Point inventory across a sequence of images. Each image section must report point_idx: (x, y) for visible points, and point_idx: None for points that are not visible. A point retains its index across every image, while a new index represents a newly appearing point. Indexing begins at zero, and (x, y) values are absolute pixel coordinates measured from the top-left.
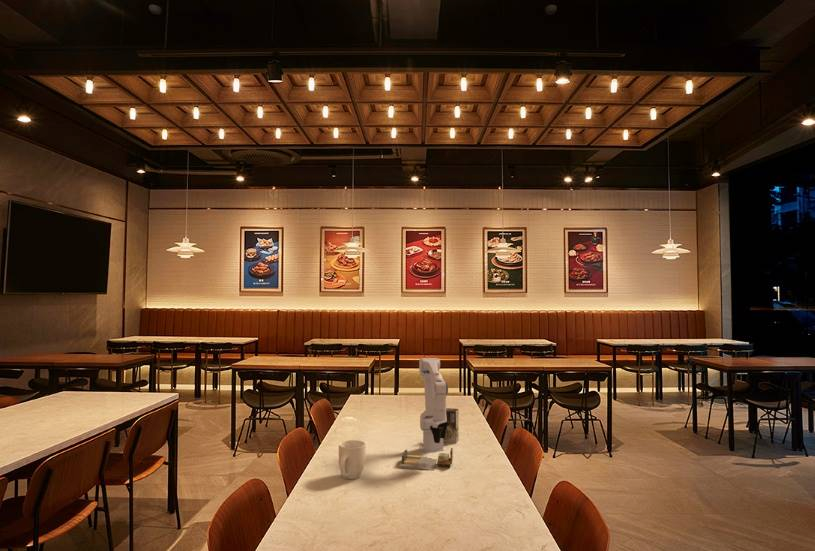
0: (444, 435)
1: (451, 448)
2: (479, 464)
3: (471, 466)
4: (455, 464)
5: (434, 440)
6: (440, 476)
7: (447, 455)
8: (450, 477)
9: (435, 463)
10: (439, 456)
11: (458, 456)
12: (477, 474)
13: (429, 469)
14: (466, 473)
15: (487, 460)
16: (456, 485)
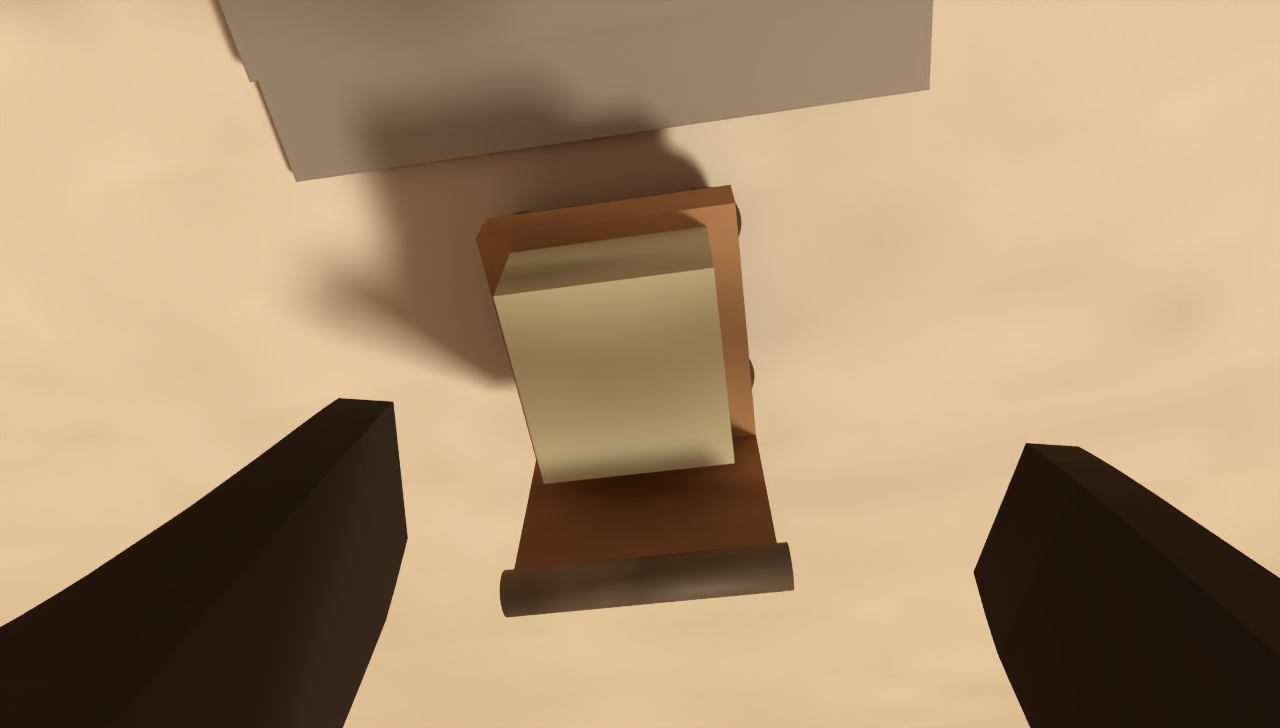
0: (1011, 673)
1: (761, 580)
2: (838, 672)
3: (738, 611)
4: (758, 431)
5: (288, 448)
6: (153, 326)
7: (608, 456)
8: (210, 455)
9: (666, 121)
10: (502, 315)
11: (1162, 413)
12: (489, 686)
13: (295, 86)
14: (462, 593)
15: (1006, 724)
16: (14, 553)
